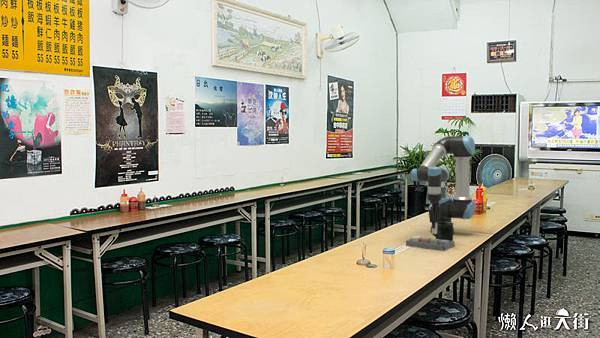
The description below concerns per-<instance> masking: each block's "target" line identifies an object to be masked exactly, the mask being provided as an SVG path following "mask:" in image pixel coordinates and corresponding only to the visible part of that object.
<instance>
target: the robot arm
mask: <svg viewBox="0 0 600 338" xmlns="http://www.w3.org/2000/svg"><path fill="white" fill-rule="evenodd" d="M475 152H476V144H475V139H474V138H473V137H472V136H469V135H467V136H466V135H462V136H461V135H460V136H459V135H458V136H456V135H455V136H454V135H453V136H452V135H451V136H450V135H448V136H445V137H443V138H440V139H438V141H436V142H435V143H434V144H433V145H432V147H431V151H430V152H429V153H428V155H427V156H426V157H425V159H424V160H423V162H422V163H421V164H420V166H419V167H418V168H413V169H411V172H410V177H411V180H412V181H414V182H427V193H428V194H427V200H428V201H429V206H427V210H428V217H429V223H431V226H432V233H431V234H435V235H436V234H437V222H452V223H453V221H452V219H462V220H471V219H472V218H473V216H474V214H475V211H476V203H475V201H473V199H472V197H471V196H470V159H472V157H473V155H474V154H475ZM448 154H449V155H452V156H453V158H454V160H455V196H454V197H453V199H452V197H442V194H441V193H442V183H444V182H446V181H449V179H450V172H449V171H448V170H447V169H444V168H441V167H440V166H436V165H438V163H439V162H440V160H441V159H442V158H443V157H445V156H446V155H448ZM454 233H455V228H454V227H453V234H454Z"/></svg>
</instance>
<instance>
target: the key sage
mask: <svg viewBox="0 0 600 338" xmlns="http://www.w3.org/2000/svg"><path fill="white" fill-rule="evenodd" d="M439 241H440V239H436V238H432V239H430V243H431V244H436V243H438V242H439Z"/></svg>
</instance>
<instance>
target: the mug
mask: <svg viewBox="0 0 600 338" xmlns="http://www.w3.org/2000/svg"><path fill="white" fill-rule="evenodd" d="M454 225H455V223H454V222H453V221H452V222H437V234H432V225H431V227H430V232H431V234H432V235H433V237H435V239H440V240H449V241H454V233H453V228H454Z"/></svg>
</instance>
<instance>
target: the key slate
mask: <svg viewBox="0 0 600 338" xmlns="http://www.w3.org/2000/svg"><path fill="white" fill-rule="evenodd" d="M448 243H449V240H440V241H439V245H445V244H448Z"/></svg>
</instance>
